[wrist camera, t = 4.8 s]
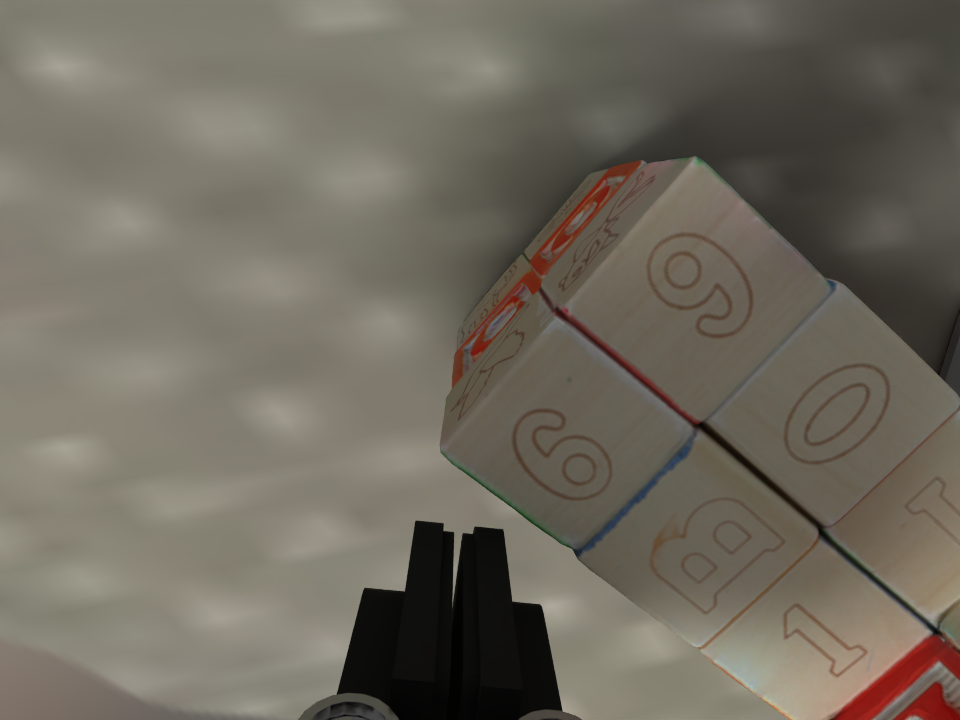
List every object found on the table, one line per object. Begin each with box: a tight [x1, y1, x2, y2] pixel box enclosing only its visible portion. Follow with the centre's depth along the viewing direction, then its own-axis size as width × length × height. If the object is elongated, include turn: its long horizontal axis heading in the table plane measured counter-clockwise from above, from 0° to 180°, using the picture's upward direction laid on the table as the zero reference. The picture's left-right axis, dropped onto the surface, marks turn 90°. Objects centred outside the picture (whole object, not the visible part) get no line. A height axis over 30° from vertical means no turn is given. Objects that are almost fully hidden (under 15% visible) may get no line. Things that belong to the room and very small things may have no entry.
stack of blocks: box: [440, 156, 960, 720], centre depth 14 cm, size 21×6×12 cm, turn 50°
